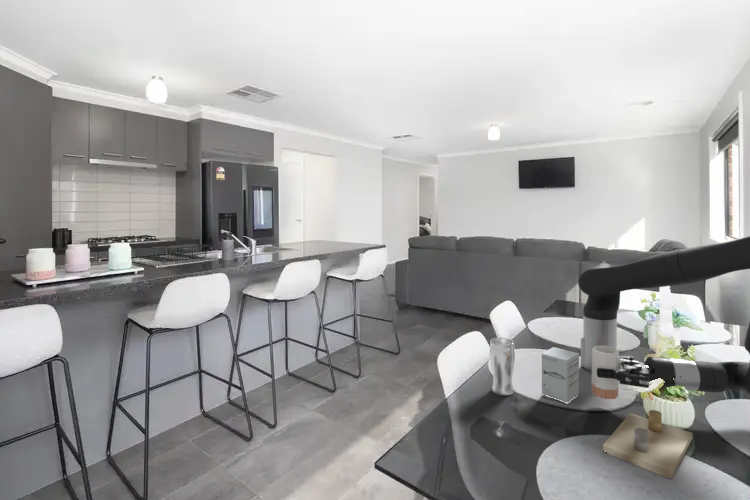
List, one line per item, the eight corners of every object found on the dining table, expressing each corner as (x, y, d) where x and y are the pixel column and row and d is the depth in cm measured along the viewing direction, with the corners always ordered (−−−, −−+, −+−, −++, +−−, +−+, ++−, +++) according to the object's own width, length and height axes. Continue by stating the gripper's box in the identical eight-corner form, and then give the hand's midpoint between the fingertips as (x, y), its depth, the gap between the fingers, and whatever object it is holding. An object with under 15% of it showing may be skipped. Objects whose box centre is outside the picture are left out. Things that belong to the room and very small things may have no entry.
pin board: (602, 451, 83) (602, 427, 83) (630, 418, 95) (630, 397, 94) (671, 479, 74) (671, 452, 73) (692, 439, 86) (692, 415, 85)
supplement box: (540, 396, 108) (540, 353, 107) (553, 387, 113) (553, 345, 111) (567, 405, 102) (567, 360, 101) (579, 396, 107) (579, 352, 106)
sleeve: (588, 393, 101) (589, 350, 99) (597, 386, 104) (597, 344, 103) (612, 401, 97) (613, 355, 95) (620, 393, 100) (621, 349, 99)
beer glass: (517, 397, 108) (516, 345, 107) (491, 396, 110) (490, 345, 108) (513, 385, 115) (512, 337, 113) (489, 385, 116) (488, 337, 115)
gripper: (661, 348, 101) (589, 343, 107) (684, 371, 88) (600, 364, 93) (660, 375, 102) (588, 369, 108) (682, 402, 89) (600, 393, 94)
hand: (594, 367), depth 100 cm, fingers closed on sleeve, 6 cm apart
